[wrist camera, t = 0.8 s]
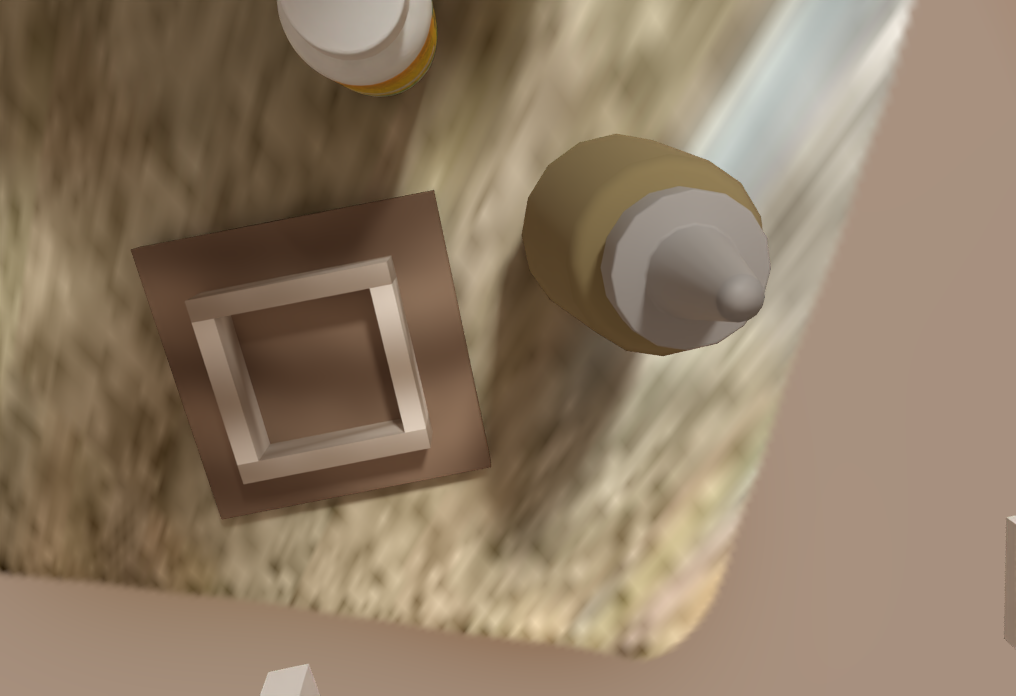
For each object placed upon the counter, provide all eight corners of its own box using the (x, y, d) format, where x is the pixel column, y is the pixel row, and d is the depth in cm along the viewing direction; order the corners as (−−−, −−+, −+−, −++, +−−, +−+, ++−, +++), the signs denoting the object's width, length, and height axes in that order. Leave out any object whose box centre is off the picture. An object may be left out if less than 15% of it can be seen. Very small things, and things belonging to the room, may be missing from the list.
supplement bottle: (290, 27, 30) (213, -27, 21) (379, -62, 30) (339, -159, 21) (377, 124, 32) (340, 113, 23) (464, 41, 31) (462, -6, 22)
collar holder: (140, 246, 33) (108, 255, 30) (433, 190, 33) (430, 193, 30) (228, 509, 36) (207, 540, 34) (490, 458, 36) (492, 484, 34)
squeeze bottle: (555, 331, 35) (642, 507, 18) (488, 180, 33) (511, 210, 15) (705, 264, 34) (946, 377, 17) (647, 106, 32) (855, 51, 15)
